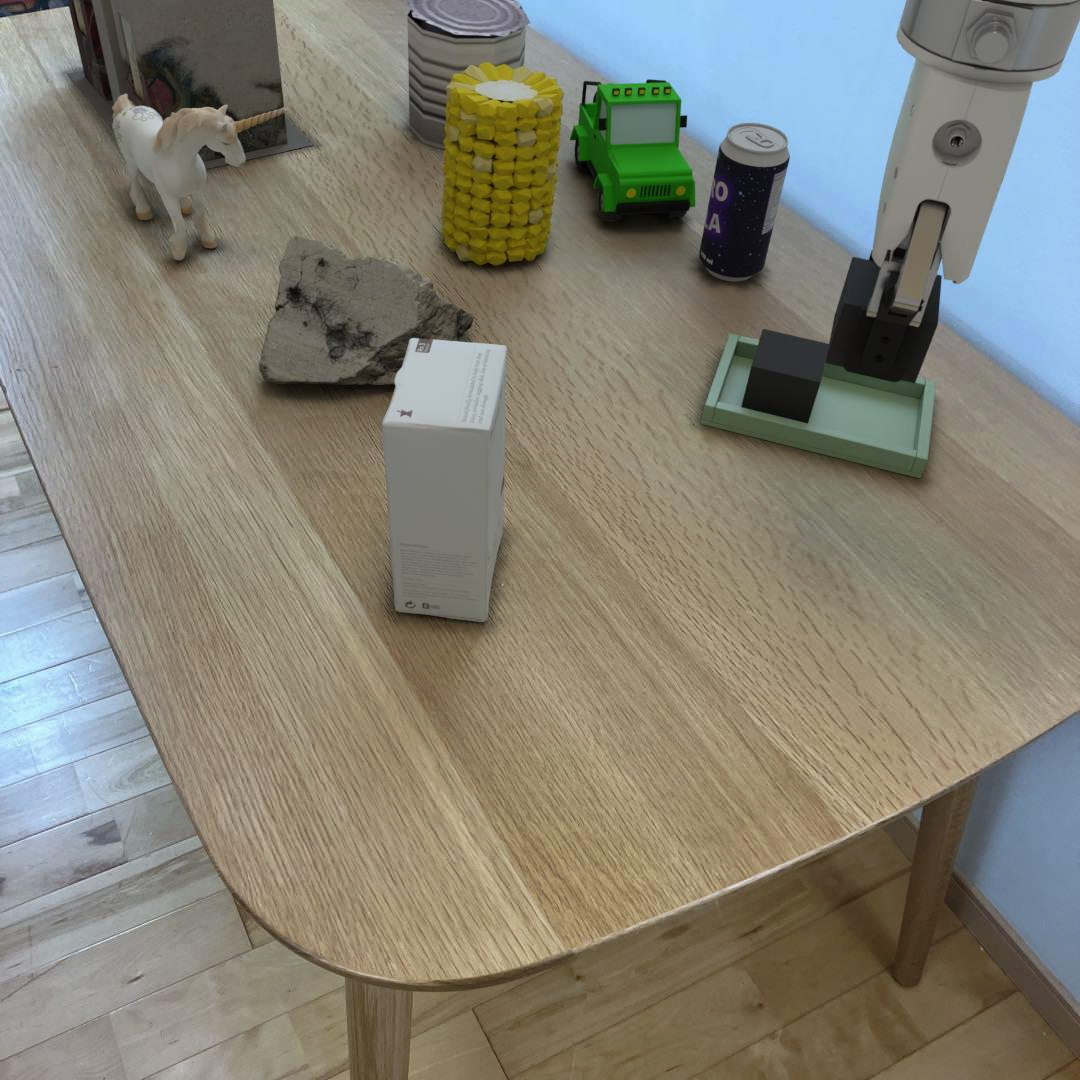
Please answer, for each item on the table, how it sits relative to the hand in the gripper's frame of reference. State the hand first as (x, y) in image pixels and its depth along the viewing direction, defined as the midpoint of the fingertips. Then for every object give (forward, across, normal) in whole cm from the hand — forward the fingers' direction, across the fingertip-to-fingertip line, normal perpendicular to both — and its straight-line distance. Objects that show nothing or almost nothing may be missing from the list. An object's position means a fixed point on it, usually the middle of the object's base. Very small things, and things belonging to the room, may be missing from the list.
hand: (876, 342), depth 64 cm
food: (+16, +27, +31) cm, 44 cm away
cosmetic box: (+16, -11, +22) cm, 29 cm away
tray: (+16, +13, +1) cm, 21 cm away
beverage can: (+16, +30, +11) cm, 36 cm away
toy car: (+16, +41, +23) cm, 49 cm away
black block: (+15, +13, +4) cm, 21 cm away
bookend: (+16, +38, +67) cm, 79 cm away
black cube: (0, 0, 0) cm, 0 cm away
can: (+16, +46, +40) cm, 63 cm away
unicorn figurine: (+16, +19, +54) cm, 60 cm away
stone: (+16, +8, +35) cm, 39 cm away
